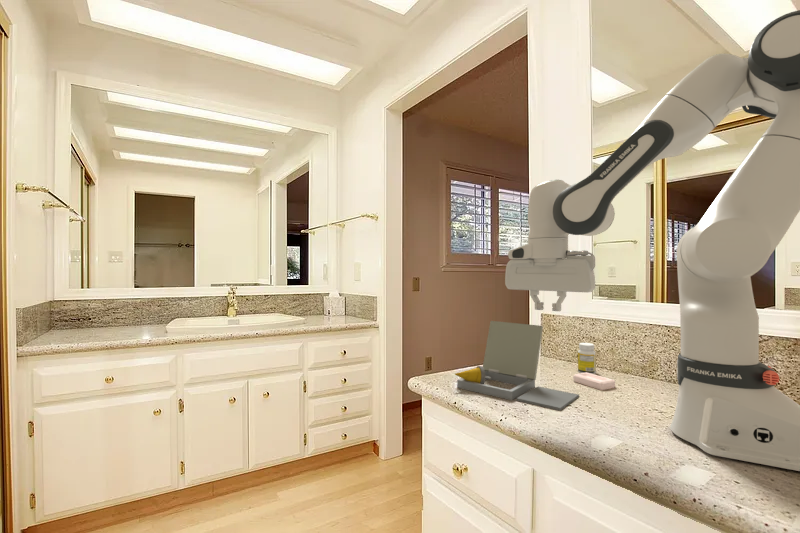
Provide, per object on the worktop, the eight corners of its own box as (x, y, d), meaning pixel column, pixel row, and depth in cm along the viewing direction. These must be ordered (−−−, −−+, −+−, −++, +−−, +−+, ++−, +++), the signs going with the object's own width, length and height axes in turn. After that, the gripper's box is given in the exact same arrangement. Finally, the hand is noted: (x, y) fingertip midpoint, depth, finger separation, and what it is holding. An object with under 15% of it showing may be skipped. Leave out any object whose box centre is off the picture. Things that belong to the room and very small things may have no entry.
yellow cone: (488, 367, 108) (452, 362, 106) (496, 368, 103) (458, 363, 101) (486, 388, 107) (450, 384, 105) (495, 389, 102) (457, 385, 100)
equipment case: (546, 381, 110) (546, 324, 110) (511, 400, 94) (511, 334, 94) (496, 371, 120) (495, 319, 120) (457, 387, 104) (457, 327, 104)
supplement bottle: (582, 369, 121) (582, 341, 121) (598, 373, 118) (598, 344, 118) (574, 372, 118) (574, 343, 118) (591, 376, 115) (590, 346, 115)
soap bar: (586, 380, 112) (586, 371, 112) (616, 389, 103) (616, 379, 103) (572, 382, 109) (572, 373, 109) (601, 392, 101) (601, 382, 101)
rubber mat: (578, 397, 96) (578, 394, 96) (560, 410, 87) (560, 408, 87) (537, 388, 103) (537, 386, 103) (516, 400, 94) (516, 398, 94)
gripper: (599, 250, 91) (599, 312, 91) (513, 252, 104) (513, 306, 104) (590, 249, 86) (590, 315, 86) (502, 252, 99) (502, 308, 99)
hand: (547, 310), depth 95 cm, fingers open, 3 cm apart
